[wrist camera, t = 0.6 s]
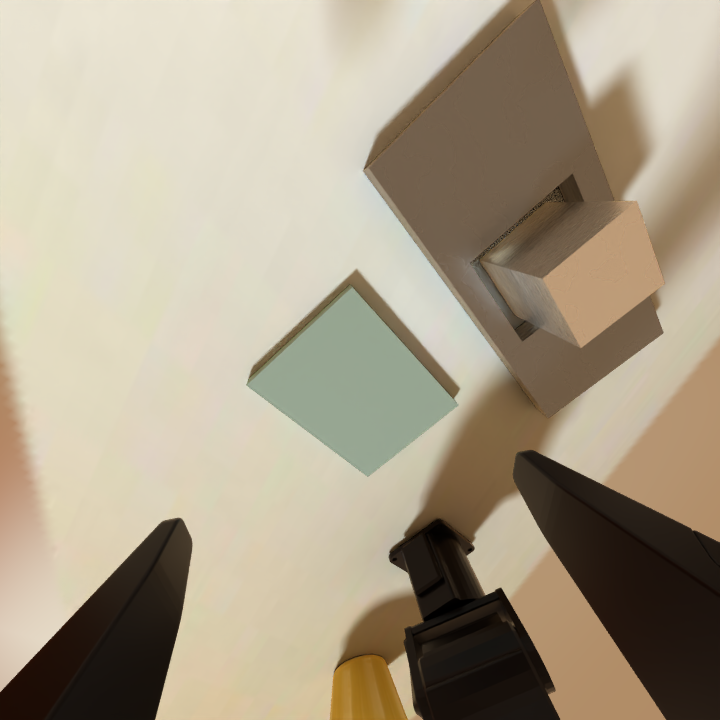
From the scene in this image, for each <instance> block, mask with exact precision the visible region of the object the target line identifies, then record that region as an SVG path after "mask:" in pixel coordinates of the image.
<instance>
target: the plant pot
mask: <svg viewBox="0 0 720 720" xmlns="http://www.w3.org/2000/svg"><path fill="white" fill-rule="evenodd" d="M330 720H408V719H407V716H406V714H405V711H404V709H403V706H402V703H401V701H400V698H399V696H398V693H397V690H396V687H395V685H394V682H393V680H392V677H391V674H390V672H389V669H388V666H387V664H386V661H385V660H384V659H383V658H382V657H380V656H378V655H362V656H358V657H355V658H352V659H350V660H348V661H346V662H344V663H343V664H341V665H340V666H339V667H338V668H337V669H336V671H335V673H334V676H333V686H332V699H331V712H330Z"/></svg>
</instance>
